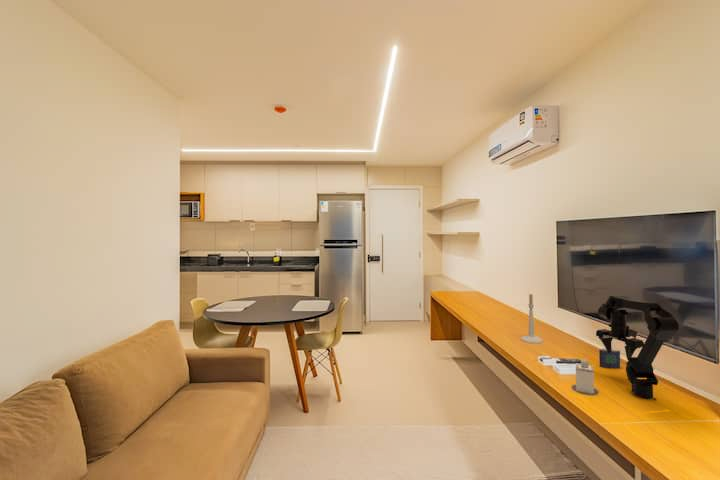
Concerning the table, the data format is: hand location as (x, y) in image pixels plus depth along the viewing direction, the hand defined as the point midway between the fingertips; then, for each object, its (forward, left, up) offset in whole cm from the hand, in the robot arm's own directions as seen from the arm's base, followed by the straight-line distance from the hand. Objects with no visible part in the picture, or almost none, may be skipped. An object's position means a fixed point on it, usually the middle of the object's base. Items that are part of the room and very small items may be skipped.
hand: (619, 356), depth 158 cm
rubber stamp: (-5, +22, -11) cm, 25 cm away
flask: (+16, -11, -12) cm, 23 cm away
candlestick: (+63, 0, -12) cm, 64 cm away
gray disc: (-5, +22, -12) cm, 26 cm away
